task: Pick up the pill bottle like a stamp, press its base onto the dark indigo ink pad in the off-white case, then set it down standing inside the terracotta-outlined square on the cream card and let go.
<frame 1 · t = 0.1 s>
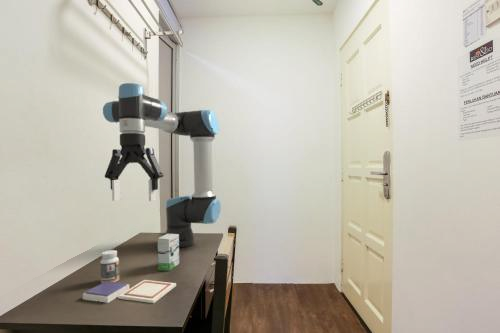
hand: (134, 200, 92), 28 cm above the table, fingers open, 13 cm apart
pill bottle: (110, 281, 98), on the table
print card: (148, 291, 89), on the table
ink pad: (106, 294, 88), on the table
ink box: (169, 267, 111), on the table
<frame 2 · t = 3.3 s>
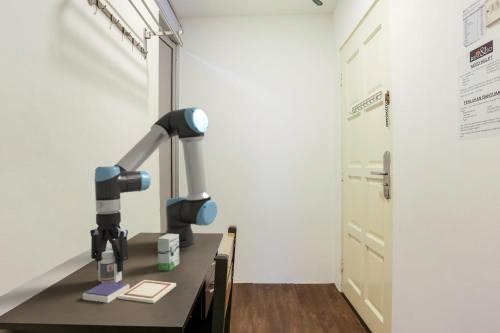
hand: (110, 280, 98), 0 cm above the table, fingers closed on pill bottle, 6 cm apart
pill bottle: (110, 281, 98), on the table, touching gripper
everything else where it was.
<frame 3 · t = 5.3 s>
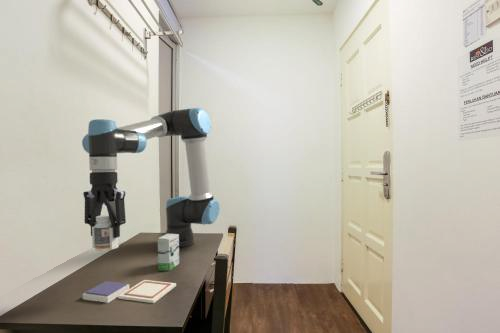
hand: (105, 247, 88), 14 cm above the table, fingers closed on pill bottle, 6 cm apart
pill bottle: (105, 249, 88), point 14 cm above the table, touching gripper
everything else where it was.
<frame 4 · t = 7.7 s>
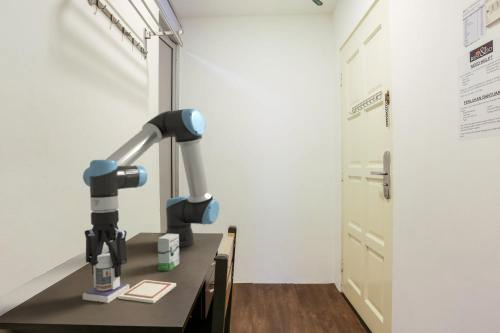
hand: (106, 286, 88), 2 cm above the table, fingers closed on pill bottle, 6 cm apart
pill bottle: (106, 288, 88), point 2 cm above the table, touching gripper, ink pad
everything else where it was.
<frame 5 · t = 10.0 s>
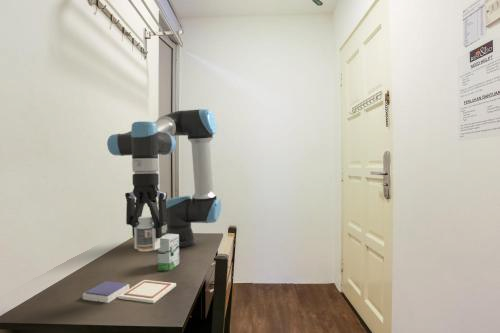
hand: (147, 248, 89), 14 cm above the table, fingers closed on pill bottle, 6 cm apart
pill bottle: (147, 250, 89), point 13 cm above the table, touching gripper
everything else where it was.
when the fingers open (3 cm above the table, at t = 12.1 s): pill bottle drops 1 cm, resting on print card.
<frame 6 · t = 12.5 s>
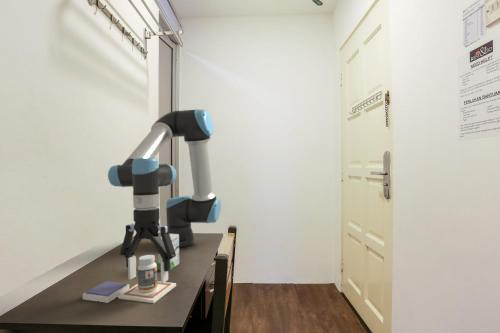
hand: (148, 279, 89), 4 cm above the table, fingers open, 11 cm apart
pill bottle: (148, 289, 89), point 1 cm above the table, touching print card
everything else where it was.
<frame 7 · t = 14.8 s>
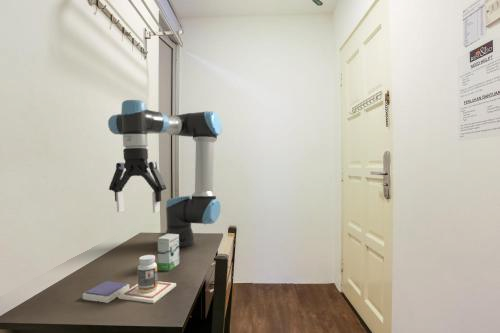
hand: (138, 211, 97), 24 cm above the table, fingers open, 13 cm apart
nothing on the table moved.
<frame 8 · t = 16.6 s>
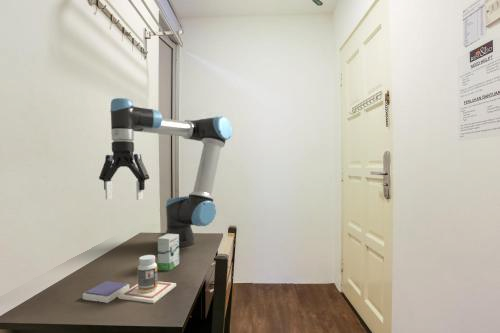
hand: (124, 199, 107), 27 cm above the table, fingers open, 13 cm apart
nothing on the table moved.
at the end: pill bottle inside the target area on the print card (0.1 cm from its centre), point 0.6 cm above the print card's base; pill bottle tilted 0°; the gripper is holding nothing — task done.
